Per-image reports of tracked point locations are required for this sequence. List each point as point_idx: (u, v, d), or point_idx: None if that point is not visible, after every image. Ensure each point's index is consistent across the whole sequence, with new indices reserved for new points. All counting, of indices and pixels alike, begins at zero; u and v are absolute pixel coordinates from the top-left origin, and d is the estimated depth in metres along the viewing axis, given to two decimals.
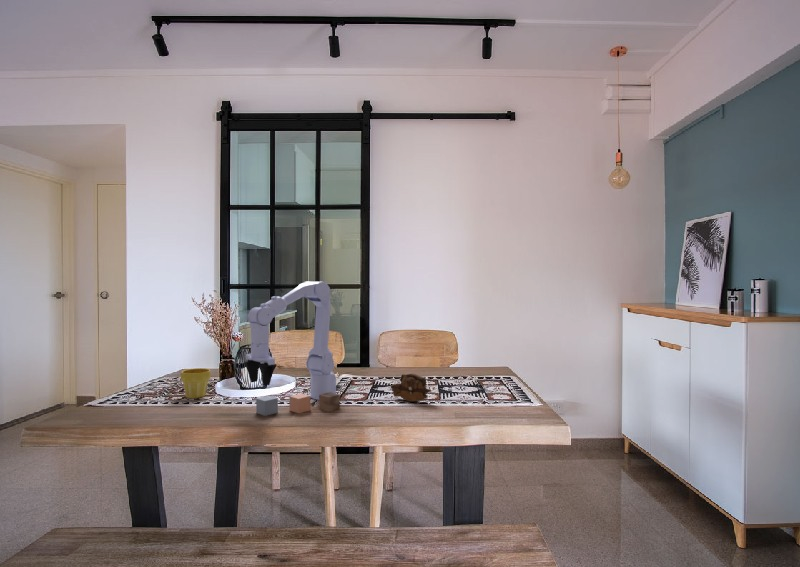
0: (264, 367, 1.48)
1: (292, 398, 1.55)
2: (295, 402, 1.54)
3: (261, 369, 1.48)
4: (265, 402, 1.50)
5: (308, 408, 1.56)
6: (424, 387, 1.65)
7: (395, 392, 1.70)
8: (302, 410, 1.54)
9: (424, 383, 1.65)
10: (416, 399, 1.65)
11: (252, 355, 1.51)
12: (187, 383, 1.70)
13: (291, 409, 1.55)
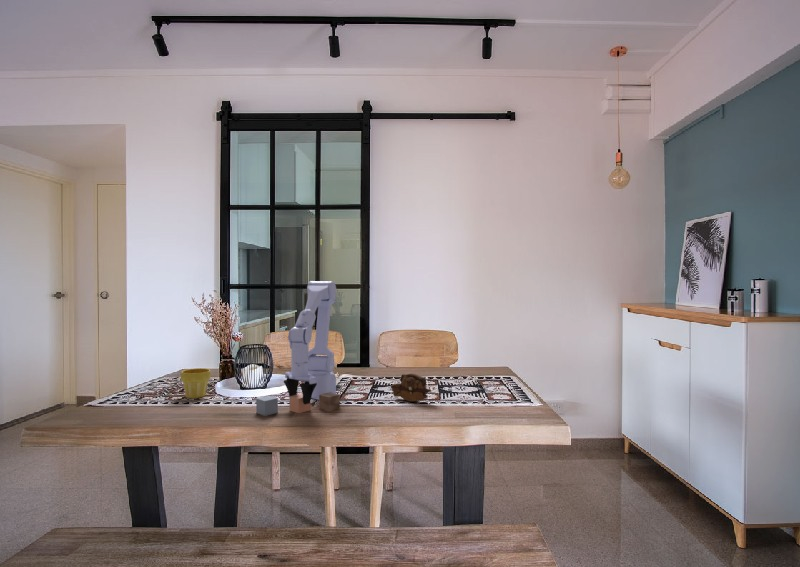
0: (305, 386, 1.50)
1: (292, 398, 1.55)
2: (295, 402, 1.54)
3: (302, 388, 1.51)
4: (265, 402, 1.50)
5: (308, 408, 1.56)
6: (424, 387, 1.65)
7: (395, 392, 1.70)
8: (302, 410, 1.54)
9: (424, 383, 1.65)
10: (416, 399, 1.65)
11: (293, 374, 1.54)
12: (187, 383, 1.70)
13: (291, 409, 1.55)
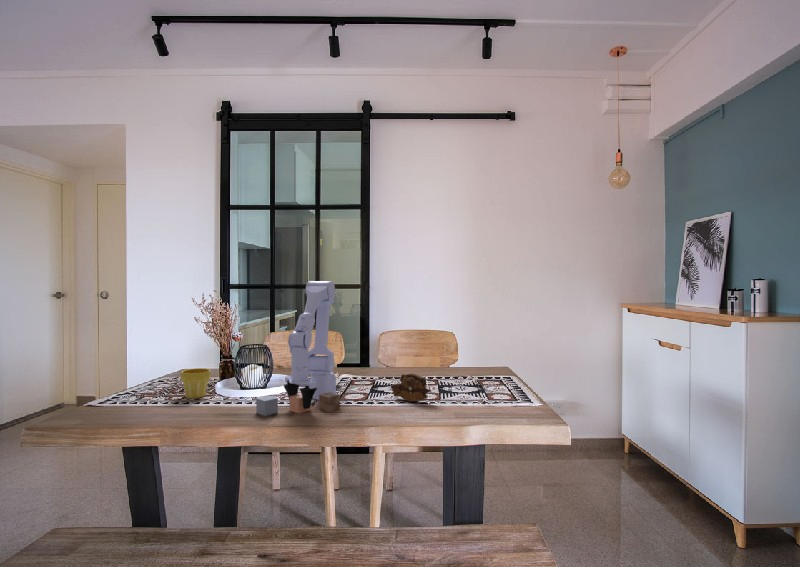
0: (306, 391, 1.50)
1: (292, 398, 1.55)
2: (295, 402, 1.54)
3: (302, 393, 1.51)
4: (265, 402, 1.50)
5: (308, 408, 1.56)
6: (424, 387, 1.65)
7: (395, 392, 1.70)
8: (302, 410, 1.54)
9: (424, 383, 1.65)
10: (416, 399, 1.65)
11: (293, 378, 1.54)
12: (187, 383, 1.70)
13: (291, 409, 1.55)
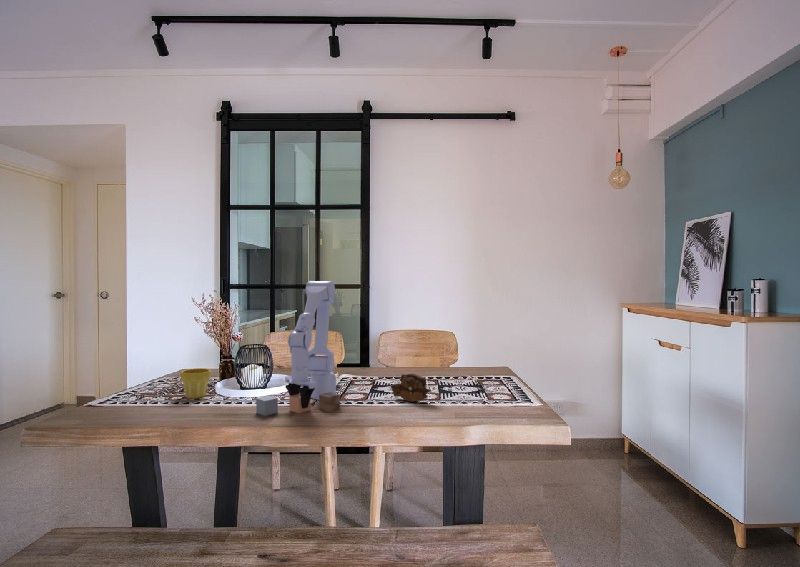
0: (304, 390, 1.51)
1: (292, 398, 1.55)
2: (295, 401, 1.54)
3: (300, 392, 1.52)
4: (265, 402, 1.50)
5: (308, 408, 1.56)
6: (424, 387, 1.65)
7: (395, 392, 1.70)
8: (302, 410, 1.54)
9: (424, 383, 1.65)
10: (416, 399, 1.65)
11: (293, 378, 1.54)
12: (187, 383, 1.70)
13: (291, 409, 1.55)
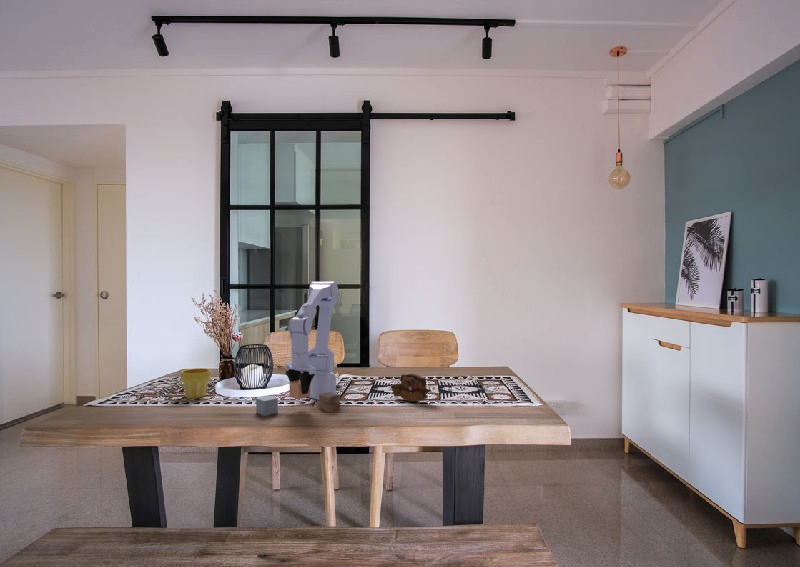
0: (304, 376, 1.51)
1: (292, 384, 1.55)
2: (295, 387, 1.54)
3: (301, 378, 1.52)
4: (265, 402, 1.50)
5: (308, 394, 1.56)
6: (424, 387, 1.65)
7: (395, 392, 1.70)
8: (302, 396, 1.54)
9: (424, 383, 1.65)
10: (416, 399, 1.65)
11: (293, 364, 1.54)
12: (187, 383, 1.70)
13: (291, 395, 1.55)
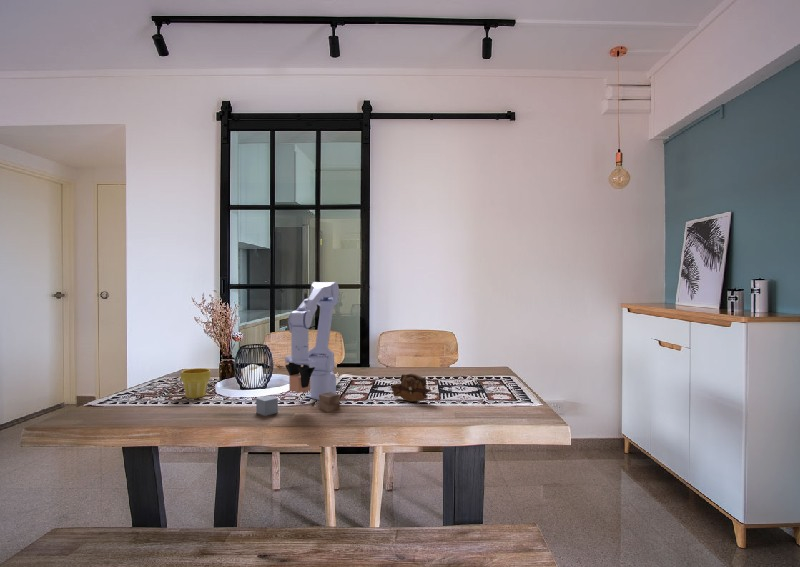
0: (304, 369, 1.51)
1: (292, 377, 1.54)
2: (295, 381, 1.54)
3: (300, 371, 1.52)
4: (265, 402, 1.50)
5: (308, 387, 1.55)
6: (424, 387, 1.65)
7: (395, 392, 1.70)
8: (302, 389, 1.54)
9: (424, 383, 1.65)
10: (416, 399, 1.65)
11: (293, 358, 1.54)
12: (187, 383, 1.70)
13: (291, 388, 1.55)
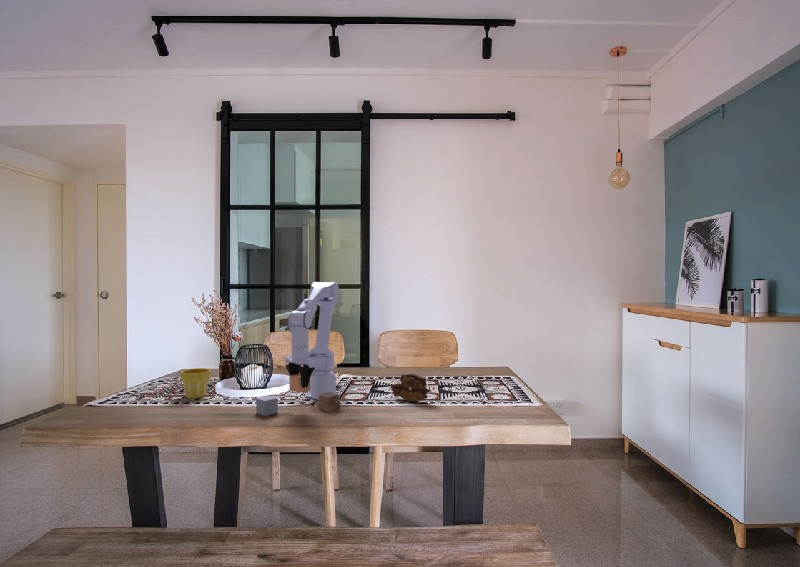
0: (304, 369, 1.51)
1: (292, 377, 1.54)
2: (295, 381, 1.54)
3: (300, 371, 1.52)
4: (265, 402, 1.50)
5: (308, 387, 1.55)
6: (424, 387, 1.65)
7: (395, 392, 1.70)
8: (302, 389, 1.54)
9: (424, 383, 1.65)
10: (416, 399, 1.65)
11: (293, 358, 1.54)
12: (187, 383, 1.70)
13: (291, 388, 1.55)
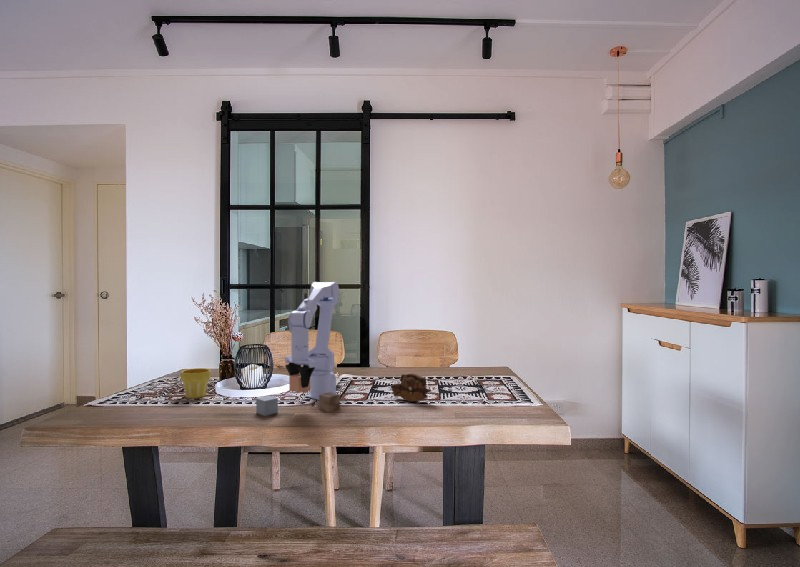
0: (304, 369, 1.51)
1: (292, 377, 1.54)
2: (295, 381, 1.54)
3: (300, 371, 1.52)
4: (265, 402, 1.50)
5: (308, 387, 1.55)
6: (424, 387, 1.65)
7: (395, 392, 1.70)
8: (302, 389, 1.54)
9: (424, 383, 1.65)
10: (416, 399, 1.65)
11: (293, 358, 1.54)
12: (187, 383, 1.70)
13: (291, 388, 1.55)
